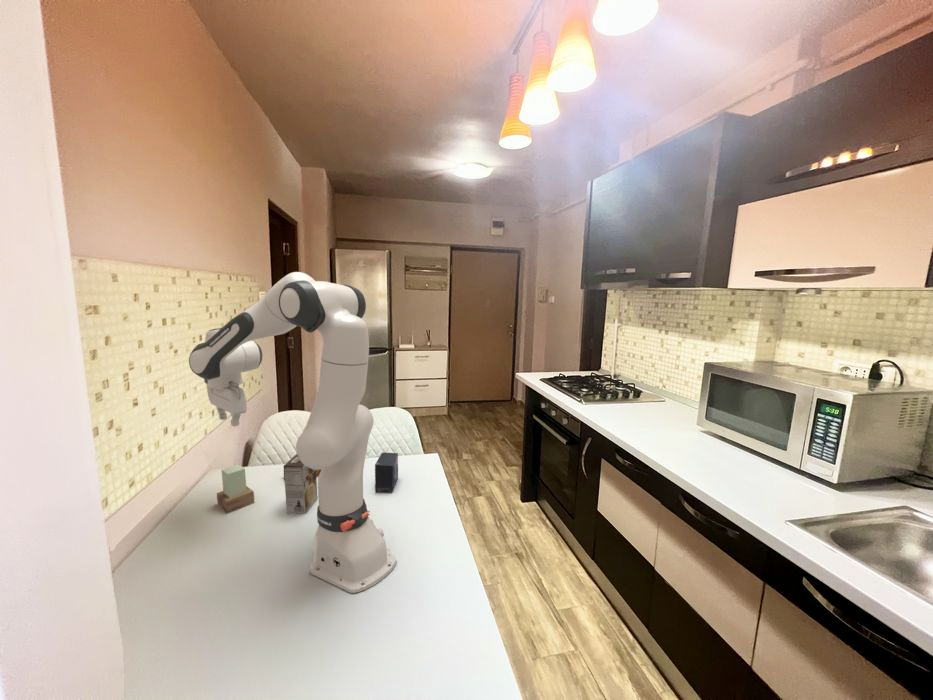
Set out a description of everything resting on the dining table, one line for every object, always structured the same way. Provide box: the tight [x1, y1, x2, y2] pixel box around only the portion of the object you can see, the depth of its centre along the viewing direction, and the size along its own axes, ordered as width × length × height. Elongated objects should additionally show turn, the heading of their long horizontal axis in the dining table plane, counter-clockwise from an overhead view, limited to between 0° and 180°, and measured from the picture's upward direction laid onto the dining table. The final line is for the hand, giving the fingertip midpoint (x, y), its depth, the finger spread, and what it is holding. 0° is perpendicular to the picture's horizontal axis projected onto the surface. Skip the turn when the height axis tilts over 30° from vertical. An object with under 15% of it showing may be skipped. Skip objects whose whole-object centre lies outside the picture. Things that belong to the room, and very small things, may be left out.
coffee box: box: [283, 453, 318, 515], centre depth 122 cm, size 9×6×16 cm
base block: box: [216, 485, 255, 514], centre depth 124 cm, size 8×8×4 cm
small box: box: [374, 451, 399, 494], centre depth 136 cm, size 11×6×10 cm, turn 179°
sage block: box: [221, 464, 247, 498], centre depth 123 cm, size 5×5×8 cm
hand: (229, 422), depth 120 cm, fingers open, 8 cm apart
